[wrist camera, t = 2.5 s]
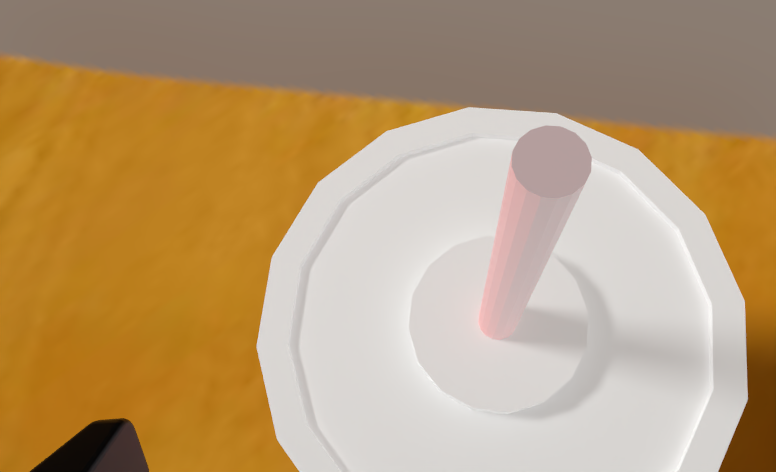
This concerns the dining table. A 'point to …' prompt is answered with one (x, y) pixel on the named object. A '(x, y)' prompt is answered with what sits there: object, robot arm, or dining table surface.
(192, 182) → the dining table surface
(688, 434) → the beverage cup
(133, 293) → the dining table surface
